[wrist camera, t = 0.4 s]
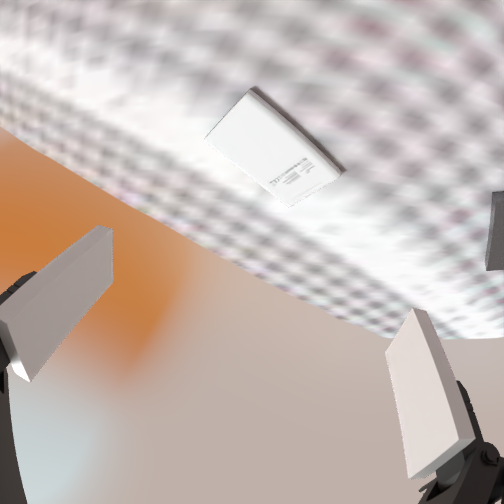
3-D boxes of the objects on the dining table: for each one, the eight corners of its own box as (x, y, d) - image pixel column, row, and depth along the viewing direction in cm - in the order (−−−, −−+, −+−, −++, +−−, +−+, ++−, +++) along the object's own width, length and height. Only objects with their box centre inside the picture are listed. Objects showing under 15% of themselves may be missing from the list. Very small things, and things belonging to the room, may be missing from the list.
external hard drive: (252, 86, 27) (342, 168, 31) (207, 133, 33) (290, 200, 37) (246, 92, 26) (340, 177, 30) (201, 141, 32) (287, 209, 36)
